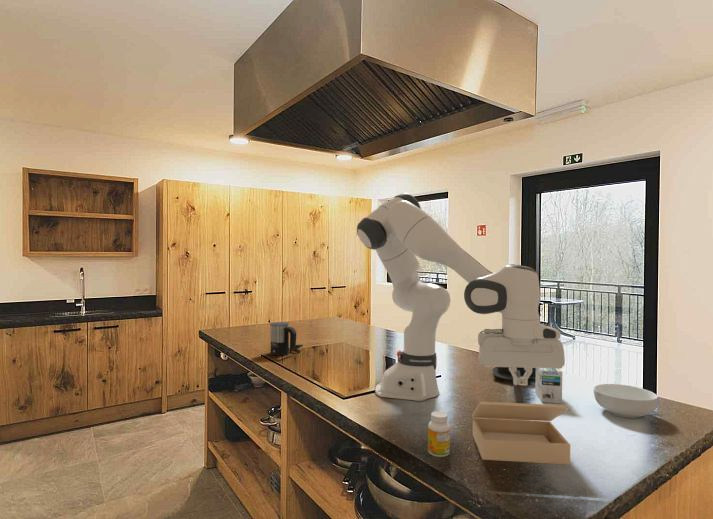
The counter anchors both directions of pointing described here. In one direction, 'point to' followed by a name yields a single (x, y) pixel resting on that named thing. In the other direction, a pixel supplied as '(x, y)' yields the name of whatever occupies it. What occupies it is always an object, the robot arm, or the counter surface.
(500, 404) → the mailer lid
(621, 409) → the cereal bowl
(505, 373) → the casserole
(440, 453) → the supplement bottle
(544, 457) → the tray
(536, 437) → the tissue paper
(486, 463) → the counter surface
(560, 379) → the light bulb box
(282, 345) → the milk frother
